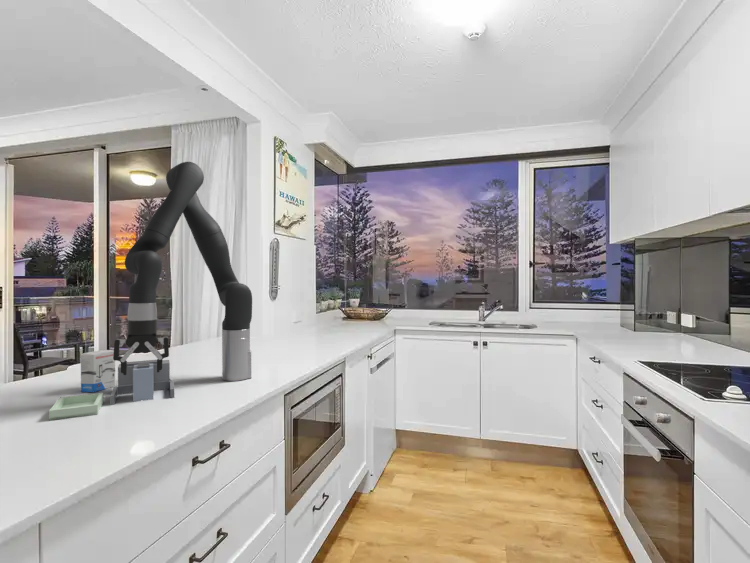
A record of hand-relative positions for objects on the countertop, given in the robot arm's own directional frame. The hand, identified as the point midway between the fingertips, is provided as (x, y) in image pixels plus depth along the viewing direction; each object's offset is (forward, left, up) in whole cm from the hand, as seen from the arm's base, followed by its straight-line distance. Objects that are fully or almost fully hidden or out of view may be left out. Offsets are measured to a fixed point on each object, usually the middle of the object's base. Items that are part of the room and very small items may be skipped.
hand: (141, 373), depth 122 cm
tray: (+15, +6, -7) cm, 17 cm away
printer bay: (0, -4, -7) cm, 8 cm away
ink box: (+13, -17, -7) cm, 22 cm away
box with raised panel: (0, 0, -7) cm, 7 cm away
